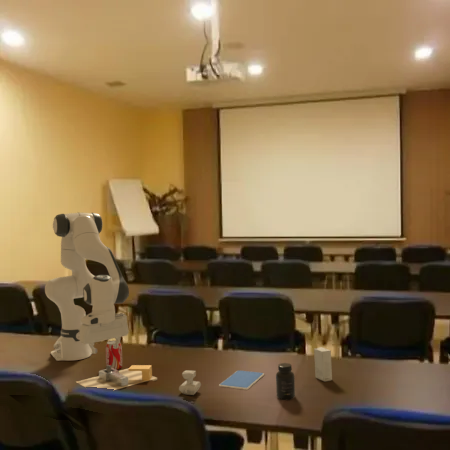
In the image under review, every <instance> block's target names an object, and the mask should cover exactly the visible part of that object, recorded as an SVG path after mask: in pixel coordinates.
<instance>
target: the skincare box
mask: <svg viewBox="0 0 450 450" xmlns="http://www.w3.org/2000/svg"><path fill="white" fill-rule="evenodd" d="M331 351H332V350H330V349H327V348H324V347H323V346H322V347H321V346H320V347H315V348H313V355H314V371H315V372H314V373H315V378H316V379H318V380H320V381H322V382H330V381H333V373H332V372H333V371H332V352H331Z"/></svg>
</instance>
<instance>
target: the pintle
mask: <svg viewBox="0 0 450 450" xmlns="http://www.w3.org/2000/svg"><path fill="white" fill-rule="evenodd" d="M105 369H106V372H107V373H108V372H111V365H107V366H106V365H105Z"/></svg>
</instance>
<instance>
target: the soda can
mask: <svg viewBox="0 0 450 450" xmlns="http://www.w3.org/2000/svg"><path fill="white" fill-rule="evenodd" d="M115 341H116V340H109V341H107V342H106V345H105V364H106V365H105V367H106V366H107V365H111V368H114V369H116V370H120V369H121V368H123V349H122V348H123V346H122V343H121V341H120V342H119V344H118V348H117V349H114V348H113V344H115Z"/></svg>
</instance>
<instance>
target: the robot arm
mask: <svg viewBox="0 0 450 450" xmlns="http://www.w3.org/2000/svg"><path fill="white" fill-rule="evenodd" d="M52 221H53V222H52V229H53V232H54V234H55V235H56V236H57V237H60V238H61V241H60V242H61V243H60V263H61V265H62V266H63V268H66V269H67V270H69V271H71V275H66V276H58V277H54V278H52V279H49V280H48V281H47V282H46V283H45V286H44V293H45V296H46V297H47V298H48V299H49V300H50V301H51V302H53V303H54V304H55V305H56V306H57V308H58V310H59V312H60V318H61V327H60V329H61V330H60V336H59V337H58V339H57V340H56V341H55V343H54V344H53V349H54V350H52V351H50V355H51V356H52V357H53V358H54V359H55V361H57V362H58V361H59V362H60V361H78V360H83V359H87V358H89V357H91V356H92V355H93V354H95V355H96V354H97V353H98V348H96V347H95V343H98V342H103V341H107V340H111V339H112V340H113V339H114V341H115V344H113V348H114V349H117V348H118V344H119V342H120V343H121V339H122V337H126V336H128V335H129V326H128V316H127V314H125V313H123V312H120V313H116V307H115V304H116V305H118V304H123V303H125V302H126V300H127V299H128V298H129V295H130V287H129V285H128V283H127V281H126V279H125V278H124V276H123V274H122V271H121V270H120V267H119V265H118V263H117V260H116V258H115V256H114V254H113V252H112V249H111V248H110V247H108V246H106V245H105V244H104V243H103V241H102V240H101V237H100V233H101V232H102V230H103V224H104V223H103V218H102V216H101V215H100V214H99V213H95V212H69V213H60V214H57V215H55V217H54V218H53V220H52ZM86 260H89V261H93V262H97V263H100V264H102V265H103V266H105V268H106V270H107V272H108V274H98V275H94V274H93V273H91V271H90V270H89V268H88V267H87V262H86ZM81 298H83V302H85V303H86V305H88V306H92V309H91V312H90V313H88V314H86V311H85V309H84V308H83V307H82V306H80V305H77V304H75V301H74V299H81Z"/></svg>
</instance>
